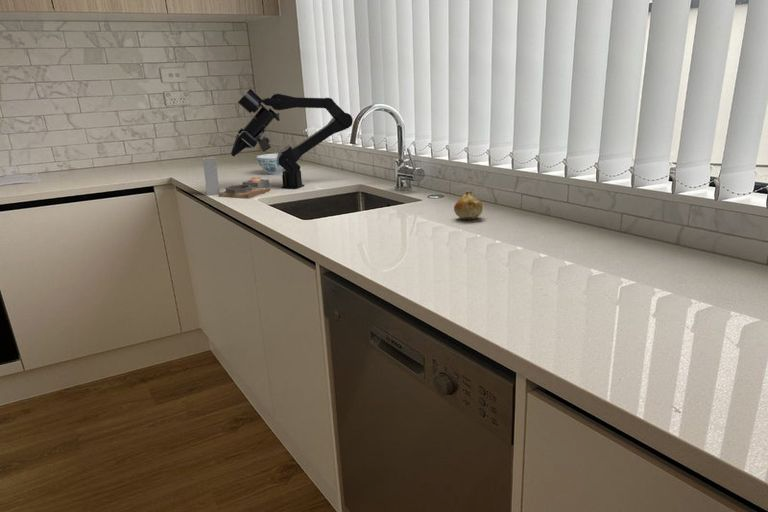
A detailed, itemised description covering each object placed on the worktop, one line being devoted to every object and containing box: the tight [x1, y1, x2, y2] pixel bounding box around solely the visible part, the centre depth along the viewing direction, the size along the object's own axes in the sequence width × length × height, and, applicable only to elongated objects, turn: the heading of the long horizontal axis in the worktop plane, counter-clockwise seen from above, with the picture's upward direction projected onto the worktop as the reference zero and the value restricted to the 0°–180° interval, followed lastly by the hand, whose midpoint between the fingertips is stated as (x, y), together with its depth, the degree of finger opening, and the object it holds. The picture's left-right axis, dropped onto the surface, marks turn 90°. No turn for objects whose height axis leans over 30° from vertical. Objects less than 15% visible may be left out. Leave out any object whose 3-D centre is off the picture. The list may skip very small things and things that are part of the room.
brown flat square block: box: [218, 184, 271, 199], centre depth 207 cm, size 13×13×3 cm
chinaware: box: [256, 153, 285, 176], centre depth 250 cm, size 15×15×8 cm
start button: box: [249, 176, 262, 182], centre depth 219 cm, size 4×4×2 cm
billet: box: [202, 156, 221, 196], centre depth 208 cm, size 4×4×13 cm
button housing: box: [242, 178, 270, 188], centre depth 219 cm, size 7×7×2 cm
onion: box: [453, 189, 483, 220], centre depth 159 cm, size 8×8×8 cm
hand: (232, 155), depth 208 cm, fingers open, 4 cm apart
